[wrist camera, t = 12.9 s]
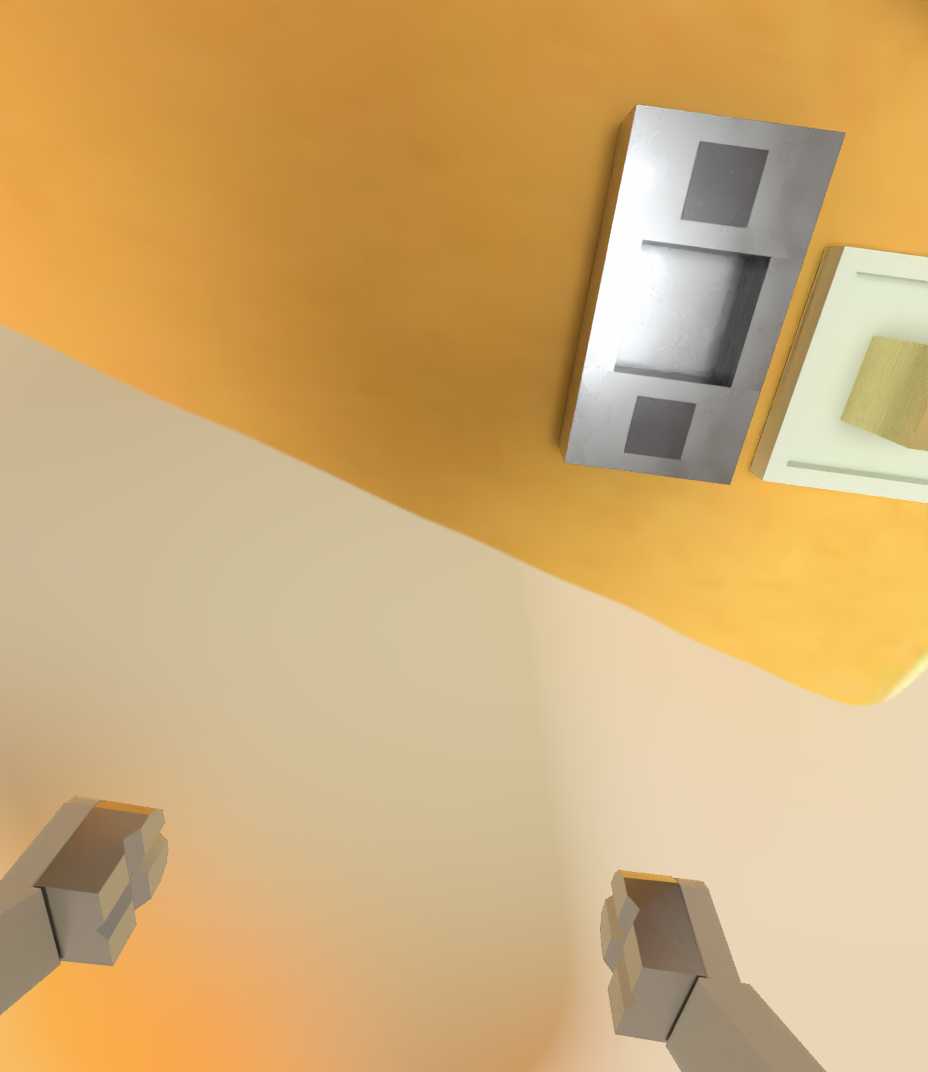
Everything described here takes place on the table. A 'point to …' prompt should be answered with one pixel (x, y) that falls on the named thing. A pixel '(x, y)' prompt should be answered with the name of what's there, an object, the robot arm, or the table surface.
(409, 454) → the table surface
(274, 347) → the table surface
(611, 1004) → the robot arm
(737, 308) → the grey recessed block
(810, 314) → the parts tray
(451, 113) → the table surface
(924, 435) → the tan rectangular block
